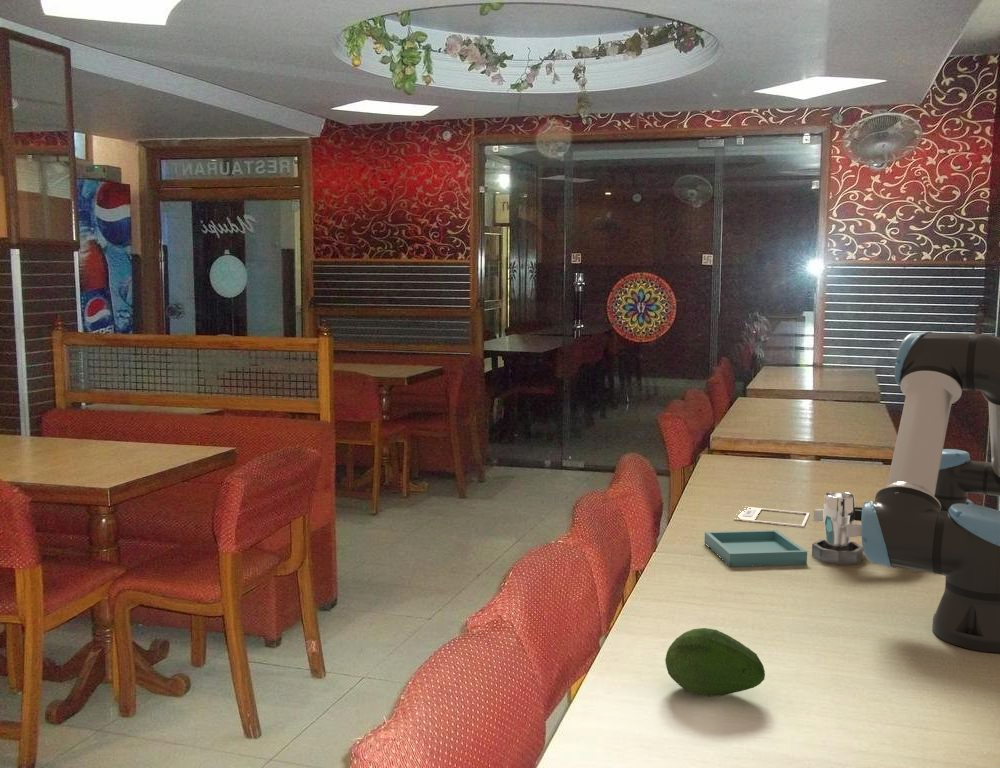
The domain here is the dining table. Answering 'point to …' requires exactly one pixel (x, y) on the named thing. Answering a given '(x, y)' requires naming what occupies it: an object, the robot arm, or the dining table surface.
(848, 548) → the silver metal tumbler
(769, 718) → the dining table surface
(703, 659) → the fruit
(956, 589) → the robot arm
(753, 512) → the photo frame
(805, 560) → the tray
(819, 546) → the holder ring
